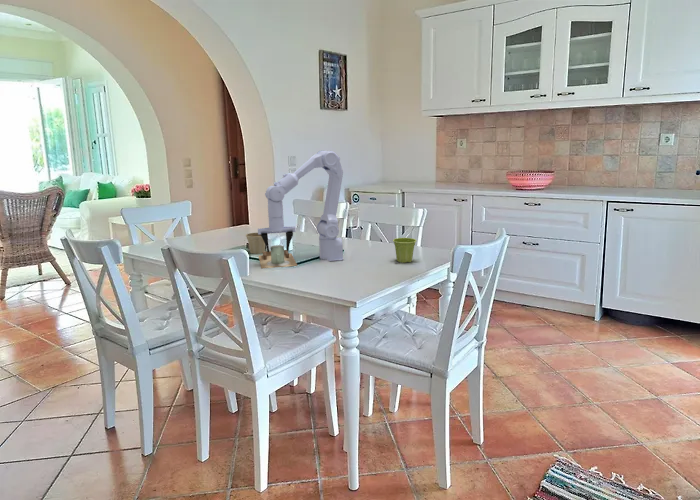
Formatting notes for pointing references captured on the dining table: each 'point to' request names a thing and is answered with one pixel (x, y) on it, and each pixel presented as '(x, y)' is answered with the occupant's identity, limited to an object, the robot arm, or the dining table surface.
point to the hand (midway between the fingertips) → (277, 251)
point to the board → (266, 263)
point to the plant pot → (404, 249)
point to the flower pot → (255, 243)
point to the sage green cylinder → (277, 254)
